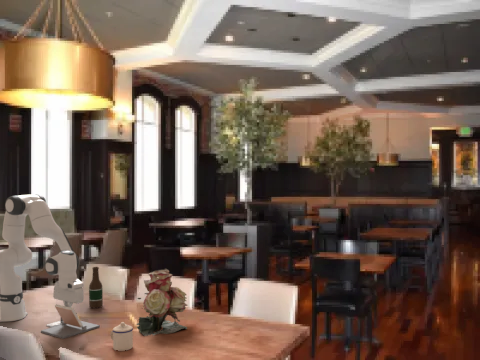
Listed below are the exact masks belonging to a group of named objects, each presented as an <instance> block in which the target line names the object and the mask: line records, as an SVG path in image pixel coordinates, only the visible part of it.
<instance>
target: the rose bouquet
mask: <svg viewBox="0 0 480 360" xmlns="http://www.w3.org/2000/svg"><path fill="white" fill-rule="evenodd" d="M148 276H149V277H150V279H147V280H146V279H144V280H143V283H144V287H145V289H146V290H147V292H145V293H144V295H146V296H145V298H144V299H143V306H142V308H143V310H145V313H148V316H140V317H138V323H136V328H137V329H138V331H139V333H140V334H142V336H144V337H146V336H148V337H149V336H156V335H159V334H164V335H165V334H166V335H167V334H173V333H176V332H178V331H181V330H183V329H185V330H187V329H188V327H187V326H186V325H181V324H179V323H178V322H181V320H180V319H179V318H178V315H177V313H183V312H184V311H185V310H186V309H187V308H186V306H187V307H188V304H187V303H186V302H187V297H186V296H187V293H186V292H184V291H183V290H181V288H180V287H177V286H172V284H173V281H171V278H172V277H173V274H172V273H170V270H169V269H167V268H164V269H158V270H154V271H151V272H149V273H148ZM137 299H138V300H141V299H142V297H137ZM168 316H169V317H171V318H172V319H174V321H172V322H171V320H168V319H166V318H167V317H168Z"/></svg>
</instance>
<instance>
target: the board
mask: <svg viewBox="0 0 480 360" xmlns="http://www.w3.org/2000/svg"><path fill="white" fill-rule="evenodd" d="M80 321H81V323H82V325H83V326H82V328H80V327H76V326H72V325H69V324H65V323H64V322H63V321H62V325H58V326H55V327H48V328H44V329H42V330H40V333H42V334H45V335H49V336H53V337H54V338H55V337H56V338H59V339H62V340H63V339H66V338H69V337H73V336H76V335H80V334H83V333H86V332H89V331H92V330H95V329H99V328H100V324H96V323H91V322H87V321H84V320H80Z"/></svg>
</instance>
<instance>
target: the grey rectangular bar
mask: <svg viewBox="0 0 480 360" xmlns="http://www.w3.org/2000/svg"><path fill="white" fill-rule="evenodd" d="M76 314H77V312H76ZM77 315H78V314H77ZM62 321H63V320H62V318H61V317H60V320H58V321H54V322H51V323H48V324H46V325H45V326H46V327H48V328H51V327H55V326H58V325H62Z"/></svg>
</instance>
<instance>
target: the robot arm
mask: <svg viewBox="0 0 480 360" xmlns="http://www.w3.org/2000/svg"><path fill="white" fill-rule="evenodd" d="M4 209H5V213H4V218H3V225H2V233H1V237H2V239H3V240H4V241H5V242H7V243H8V248H4V249H0V323H2V322H4V323H5V322H14V321H19V320H22V319H24V318H25V317H26V316H28V312H27V311H26V303H25V300H24V299H23V298H24V293H23V279H22V277H21V276H20V275H18V274H17V273H16V272H15V268H17V267H23V266H25V265H28V264H30V262H31V261H32V259H33V252H32V249H30V248H29V247H28V246H27V244H26V242H25V230H26V218H27V216H28V217H29V220H30V223H31V227H32V229H33V231H34V233H35V234H37V235H38V236H40V237H42V238H43V237H44V238H47V239H51V240H53V241H54V242H56V244H57V245H58V247H59V249H60V252H59V253H57V254H55V255H54V256H50V257H48V258H47V259H46V260H45V262H44V271H45V272H46V273H47V274H48V275H49V276H57V275H58V280H57V281H56V282H55V283H54V287H53V293H52V294H53V295H52V296H53V299H54V300H57V301H62V302H63V306H66V307H70V308H72V306H73V304H76V305H77V304H82V303H83V302H84V299H85V297H84V294H85V293H84V292H85V291H84V287H85V285H84V282H83V281H81V280H80V279H79V278H78V275H77V270H78V269H79V267H80V264H81V263H80V262H81V261H80V257H78V255H77V254H76V252H75V250H74V249H73V246H72V245H71V243H70V241H69V239H68V237H67V235H66V233H65V231H64V229H63V228H62V227H61V226H60V225H58V224H57V223H56V221H55V219H54V217H53V214H52V212H51V209H50V207H49V205H48V204H47V201H46V197H44V196H43V195H40V194H21V195H12V196H8V197H7V199H6V200H5V203H4Z"/></svg>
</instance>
